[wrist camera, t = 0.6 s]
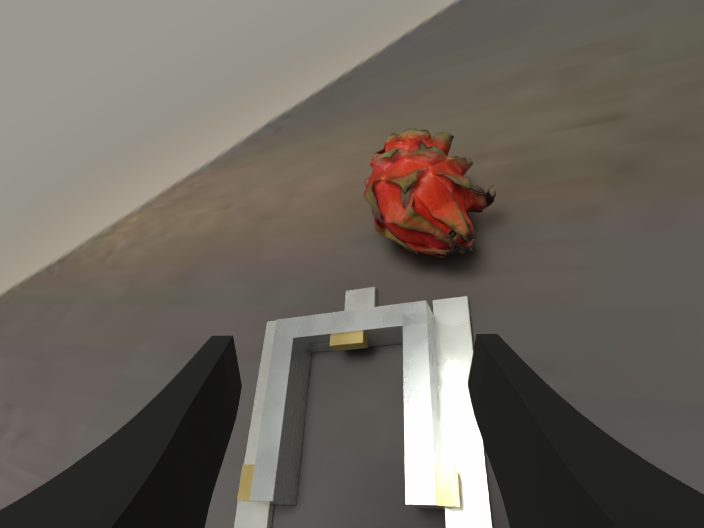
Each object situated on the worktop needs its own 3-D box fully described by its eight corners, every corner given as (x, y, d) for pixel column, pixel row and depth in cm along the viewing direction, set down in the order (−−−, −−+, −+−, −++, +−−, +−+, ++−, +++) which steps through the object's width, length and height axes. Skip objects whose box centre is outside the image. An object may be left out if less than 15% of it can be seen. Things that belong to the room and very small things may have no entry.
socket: (495, 554, 23) (488, 554, 21) (237, 538, 28) (208, 537, 26) (466, 277, 32) (459, 256, 30) (274, 305, 37) (255, 288, 35)
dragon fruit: (410, 182, 41) (480, 285, 35) (328, 190, 37) (390, 306, 31) (450, 101, 35) (543, 209, 29) (355, 100, 31) (440, 225, 25)
